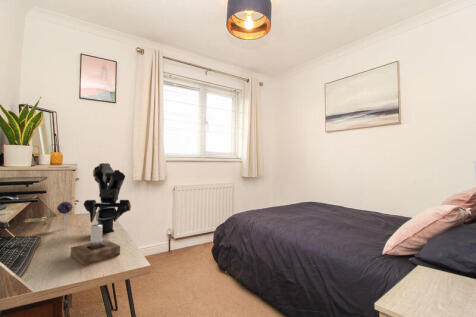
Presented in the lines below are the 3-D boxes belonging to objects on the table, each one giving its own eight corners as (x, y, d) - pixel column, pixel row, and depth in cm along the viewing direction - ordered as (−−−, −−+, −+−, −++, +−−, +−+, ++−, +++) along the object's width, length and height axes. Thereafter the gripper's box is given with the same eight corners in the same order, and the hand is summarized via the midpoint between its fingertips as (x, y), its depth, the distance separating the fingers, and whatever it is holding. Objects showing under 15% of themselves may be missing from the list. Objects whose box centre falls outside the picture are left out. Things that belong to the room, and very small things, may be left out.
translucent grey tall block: (98, 252, 95) (99, 223, 96) (103, 254, 93) (104, 225, 93) (88, 255, 92) (89, 225, 92) (92, 258, 90) (93, 227, 90)
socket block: (105, 247, 101) (105, 239, 102) (120, 254, 94) (120, 245, 94) (70, 256, 91) (71, 247, 91) (84, 265, 83) (84, 255, 83)
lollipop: (54, 231, 122) (56, 203, 123) (57, 227, 129) (59, 201, 129) (70, 229, 126) (71, 202, 126) (72, 226, 132) (73, 200, 132)
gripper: (86, 182, 104) (72, 211, 93) (130, 182, 108) (122, 211, 97) (92, 197, 112) (81, 225, 101) (133, 196, 115) (126, 224, 104)
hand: (102, 221), depth 100 cm, fingers open, 9 cm apart
